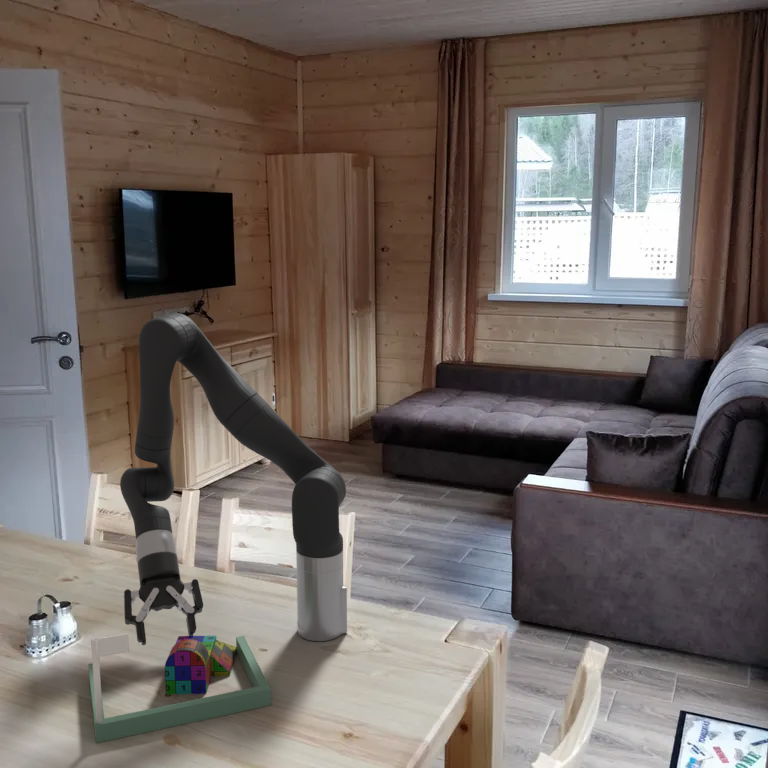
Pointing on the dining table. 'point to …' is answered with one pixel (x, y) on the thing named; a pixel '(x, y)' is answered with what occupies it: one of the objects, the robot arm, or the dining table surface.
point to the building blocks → (197, 664)
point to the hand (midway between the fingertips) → (168, 639)
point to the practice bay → (174, 712)
